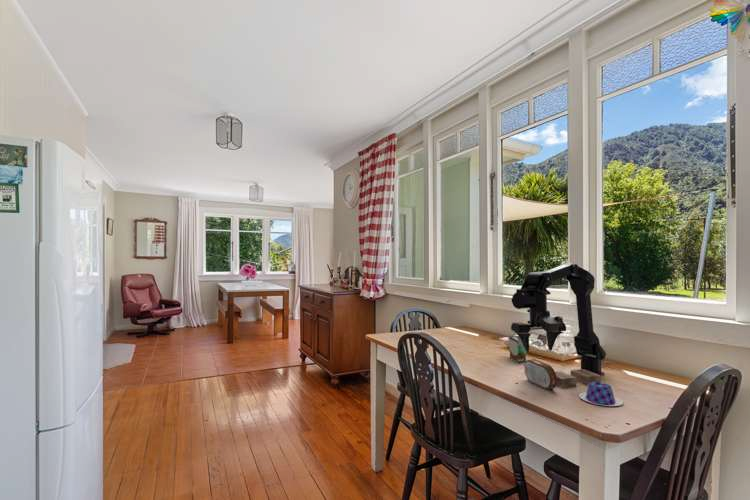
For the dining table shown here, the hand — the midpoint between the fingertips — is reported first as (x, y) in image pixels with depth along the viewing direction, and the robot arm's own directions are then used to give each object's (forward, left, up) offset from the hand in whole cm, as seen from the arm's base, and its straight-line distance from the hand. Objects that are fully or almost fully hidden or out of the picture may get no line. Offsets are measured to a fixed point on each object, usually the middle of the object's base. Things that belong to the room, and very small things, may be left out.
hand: (538, 351), depth 132 cm
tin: (0, 0, -12) cm, 12 cm away
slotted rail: (-14, 0, -12) cm, 19 cm away
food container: (-13, -31, -12) cm, 36 cm away
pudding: (-10, +17, -13) cm, 23 cm away
